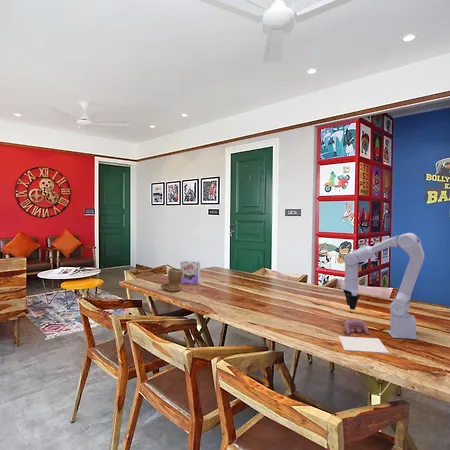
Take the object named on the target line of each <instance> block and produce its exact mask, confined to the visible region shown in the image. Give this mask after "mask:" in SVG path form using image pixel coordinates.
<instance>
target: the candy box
mask: <svg viewBox="0 0 450 450" xmlns="http://www.w3.org/2000/svg"><path fill="white" fill-rule="evenodd" d="M180 269H181V270H182V271H183V275H182V278H181V281H180V284H183V283H190V284H189V285H199V284H201V261H198V260H197V261H194V260H182V261H180Z"/></svg>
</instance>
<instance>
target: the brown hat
mask: <svg viewBox="0 0 450 450" xmlns="http://www.w3.org/2000/svg"><path fill="white" fill-rule="evenodd" d="M182 275H183V271H182V270H181V268H177V267H170V268H169V269H168V272H167V278H168V283H163V284H161V285H160V288H162V289H164V290H166V291H170V292H178V291H181V290H183V289H182V287H181V285H180V284H181V278H182Z"/></svg>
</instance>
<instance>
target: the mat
mask: <svg viewBox="0 0 450 450" xmlns="http://www.w3.org/2000/svg"><path fill="white" fill-rule="evenodd" d="M338 339H339V341H340V344H341V345H342V347H343V350H344V351H350V352H365V353H381V354H382V353H383V354H390V352H389V350H388V349H387V348H386V346H385V345H384V344H383V342H382V341H381V339H379V338H377V337H376V338H375V337H361V336H358V337H357V336H356V337H355V336H343V335H342V336H341V335H339V336H338Z"/></svg>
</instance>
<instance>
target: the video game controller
mask: <svg viewBox="0 0 450 450" xmlns="http://www.w3.org/2000/svg"><path fill="white" fill-rule="evenodd" d="M342 323H343V327H344V331H345V333H346V334H347V336H350V333H354V332H355V331H356V333H361V332H362V331H363V332H364V334H366V335H367V336H368V335H369V333H370V332H369V329H368V328H369V327H368V326H367V324H366V322H365V321H364V320H363V319H358V318H350V319H346V320H345V321H343V322H342Z"/></svg>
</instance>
